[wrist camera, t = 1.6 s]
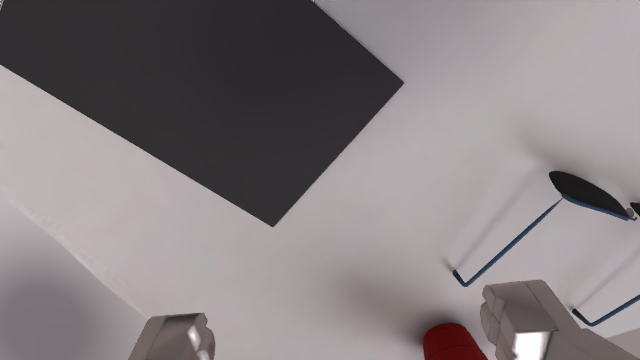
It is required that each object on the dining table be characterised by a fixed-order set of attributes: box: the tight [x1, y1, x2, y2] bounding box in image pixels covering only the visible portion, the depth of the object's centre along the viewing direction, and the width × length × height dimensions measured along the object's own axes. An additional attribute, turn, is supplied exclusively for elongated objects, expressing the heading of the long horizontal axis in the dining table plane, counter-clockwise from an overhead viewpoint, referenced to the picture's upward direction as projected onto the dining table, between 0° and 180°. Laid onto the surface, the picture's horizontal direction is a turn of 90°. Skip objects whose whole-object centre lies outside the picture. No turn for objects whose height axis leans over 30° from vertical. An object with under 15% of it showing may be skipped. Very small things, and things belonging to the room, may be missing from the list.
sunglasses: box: [453, 171, 640, 327], centre depth 36 cm, size 17×15×5 cm
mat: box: [0, 0, 404, 227], centre depth 27 cm, size 26×18×1 cm
